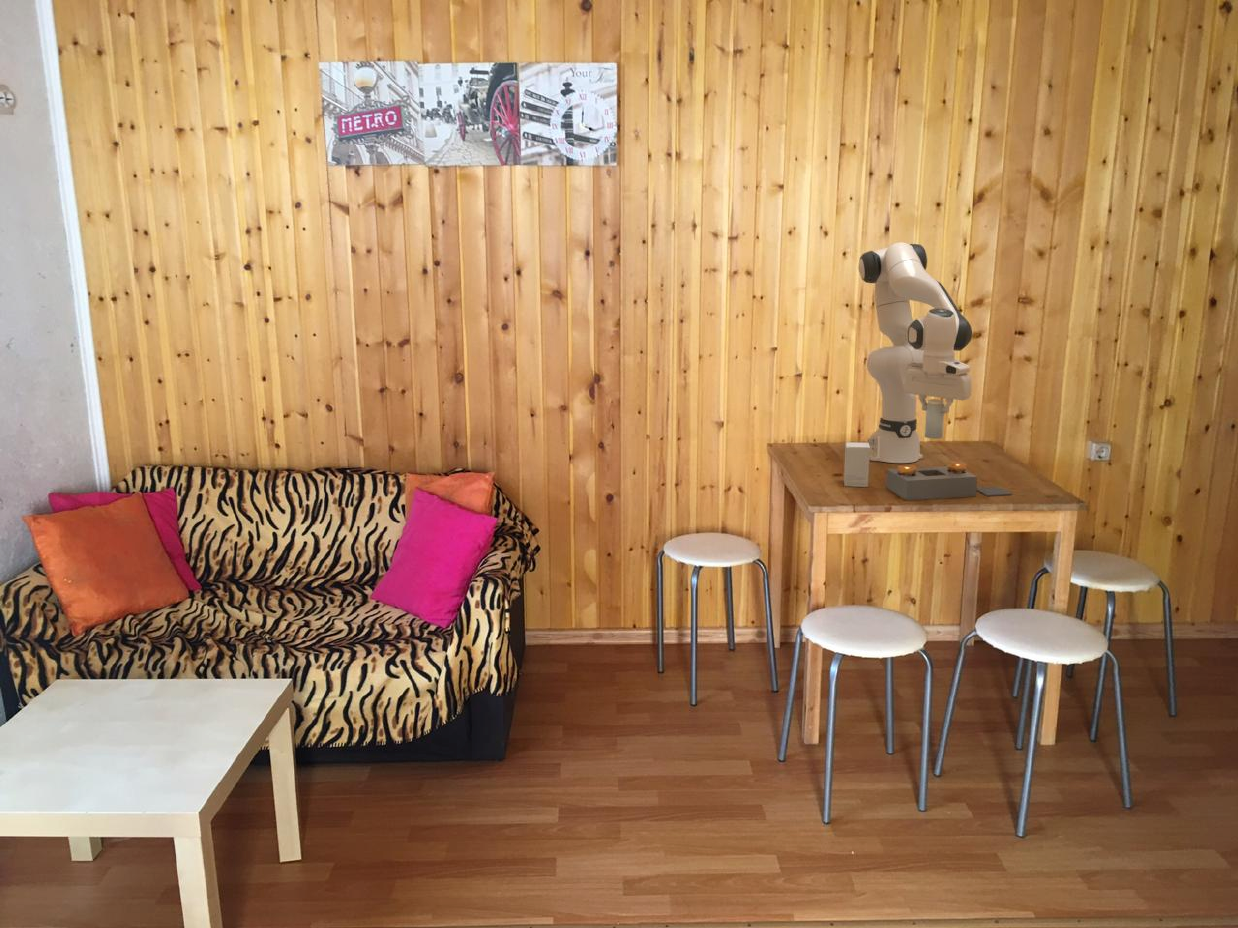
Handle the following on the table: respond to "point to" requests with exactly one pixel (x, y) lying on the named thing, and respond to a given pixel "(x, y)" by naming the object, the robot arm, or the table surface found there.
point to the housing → (932, 483)
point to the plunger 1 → (906, 469)
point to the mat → (993, 491)
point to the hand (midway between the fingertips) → (935, 411)
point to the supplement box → (856, 464)
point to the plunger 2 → (956, 467)
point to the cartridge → (934, 419)
